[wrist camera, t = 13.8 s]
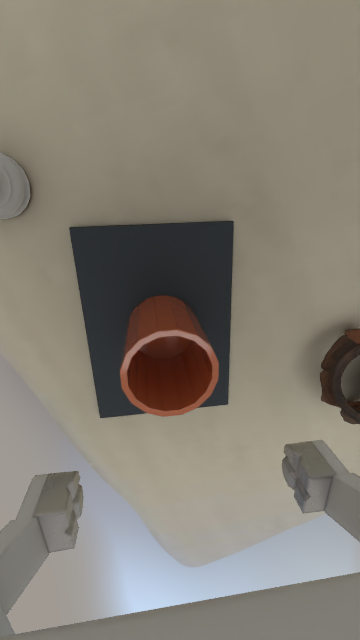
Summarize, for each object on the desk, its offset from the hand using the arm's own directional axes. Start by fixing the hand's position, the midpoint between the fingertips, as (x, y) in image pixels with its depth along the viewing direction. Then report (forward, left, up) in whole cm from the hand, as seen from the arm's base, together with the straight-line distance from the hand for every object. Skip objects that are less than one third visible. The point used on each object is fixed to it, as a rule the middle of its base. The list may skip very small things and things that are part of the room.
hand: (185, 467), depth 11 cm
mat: (0, 0, -16) cm, 16 cm away
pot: (0, 0, -15) cm, 15 cm away
